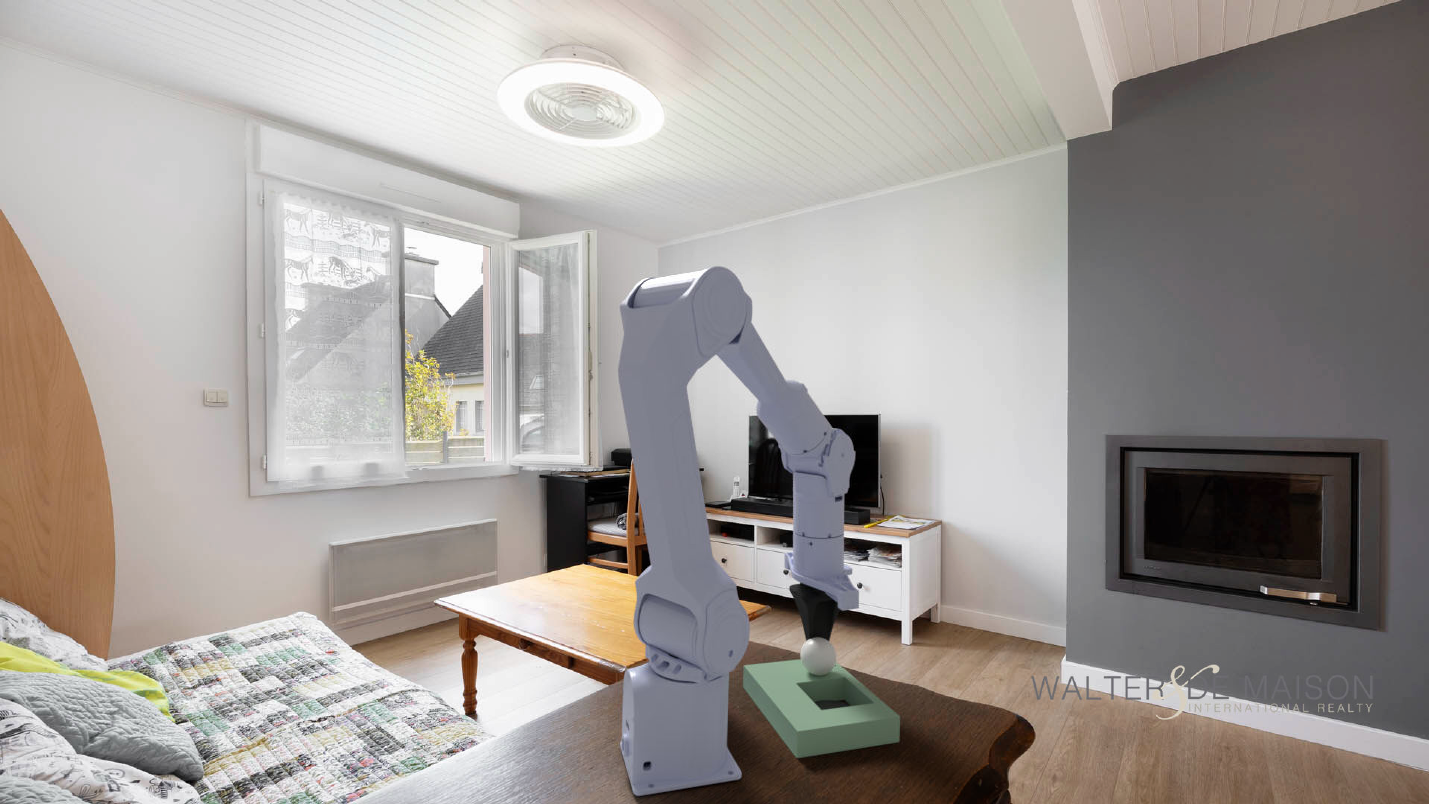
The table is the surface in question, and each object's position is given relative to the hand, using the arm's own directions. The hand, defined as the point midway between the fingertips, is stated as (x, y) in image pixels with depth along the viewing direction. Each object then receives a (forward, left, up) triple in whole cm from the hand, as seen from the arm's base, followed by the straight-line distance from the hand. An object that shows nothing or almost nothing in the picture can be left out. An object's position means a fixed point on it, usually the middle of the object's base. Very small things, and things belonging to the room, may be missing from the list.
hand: (818, 648), depth 71 cm
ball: (-1, -1, 0) cm, 2 cm away
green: (-3, -5, -5) cm, 7 cm away
